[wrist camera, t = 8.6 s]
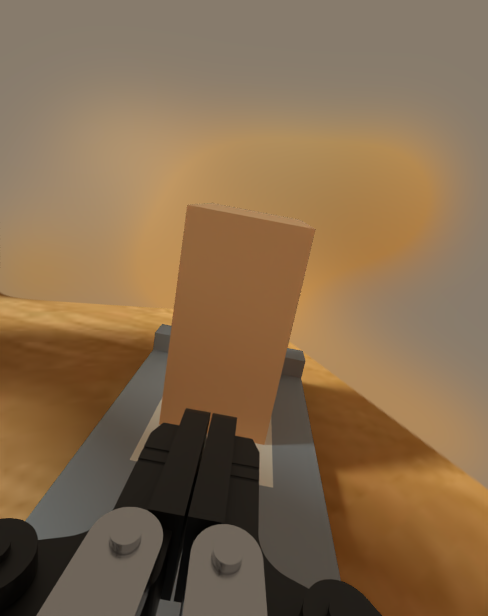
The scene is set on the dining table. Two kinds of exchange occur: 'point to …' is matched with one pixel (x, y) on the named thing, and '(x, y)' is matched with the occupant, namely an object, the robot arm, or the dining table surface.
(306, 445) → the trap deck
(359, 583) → the dining table surface
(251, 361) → the tan rectangular block
